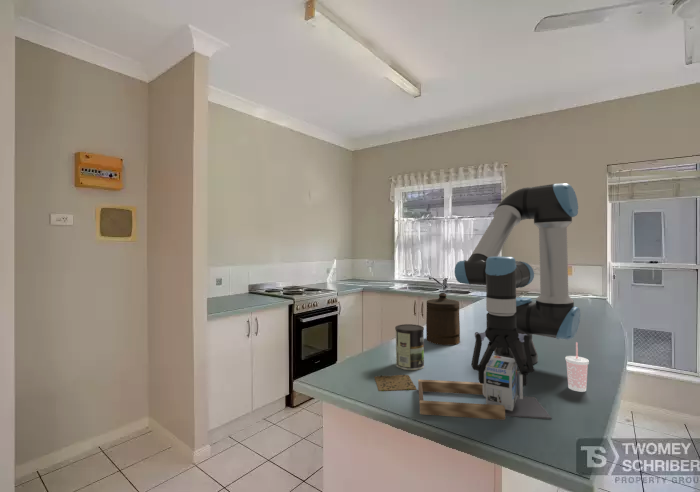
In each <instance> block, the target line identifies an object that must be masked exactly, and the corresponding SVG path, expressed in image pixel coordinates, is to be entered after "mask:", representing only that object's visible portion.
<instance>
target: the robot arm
mask: <svg viewBox="0 0 700 492" xmlns="http://www.w3.org/2000/svg"><path fill="white" fill-rule="evenodd" d="M578 213H579V203H578V198H577V195H576V192H575V189H574V188H573V186H572V185H570V184H569V183H566V182H565V183H552V184H544V185H539V186H531V187H523V188H519V189H517V190H514V191H513V192H511V193H510V194H509V195H507V196H506V197H505V198H503V199H502V200H501V201H500V202H499V204H498V205H497V206H496V208H495V210H494V212H493V218H492V220H491V222H490V223H489V225H488V226H487V228H486V230H485V231H484V233H483V235H482V237H481V238H480V240H479V241H478V242H477V245H476V247H475V248H474V250H473V251H472V252H471V255H470V256H469V257H468V259H467V260H466V259H463V260H459V261H458V262H456V264H455V266H454V277H455V280H456V281H457V282H458V283H460V284H465V285H470V286H472V285H475V286H485V288H486V289H485V290H486V294H485V296H486V297H485V299H486V300H485V301H486V303H485V305H486V308H485V309H486V311H487V313H486V317H485V318H486V319H485V320H486V329H485V330H484V331H483V332H478V331H476V332H475V333H474V337H475V343H474V348H473V353H472V358H471V362H470V363H471V367H472V369H473V370H474V371H478V377H477V378H478V382H479V383H480V384H482V388H483V397H484V398H486V365H487V363H488V362H489V360H490V359H491V357H492V356H493V355H496V356H502V357H508V358H514V359H515V361H516V363H517V368H518V369H519V370H517V396H518V397H519V398H520V399H523V396H524V393H523V392H524V387H526V386H527V376H528V374H529V373H534V372H535V368H534V365H535V364H537V363H538V362H539V360H538V359H539V358H538V357H539V355H538V352H537V349H536V347H535V343H534V340H533V336H534V335H535V336H542V337H546V338H547V337H548V338H552V339H556V340H567V341H569V340H572V339H574V338H575V337H576V335H577V332H578V330H579V327H580V322H581V309H580V308H579V307H578V306H575V302H574V300H573V299H572V298H571V296H570V295H569V270H568V269H569V268H568V266H569V264H568V263H569V262H568V227H569V226H570V225H571V224H572V222H573V218H575V217H576V216H578ZM523 220H524V221H525V220H533V225H535V226H536V227H537V229H538V242H539V243H538V247H539V250H538V251H539V281H540V282H539V285H540V287H539V291H540V294H539V296H537V297H536V298H535V302H533V298H531V297H523V296H521V297H517V289H519V288H520V289H521V288H525V287H526V286H528V285H530V284H531V283H532V282H533V281H534V278H535V271H534V269H533V267H532V266H531V265H530V264H529V263H528V262H525V261H521V260H520V261H516V258H515V257H513V256H501V255H500V253H501V251H502V249H503V247H504V246H505V244H506V242H507V241H508V238H509V237H510V236H511V233H512V231H513V229H514V228H515V227H516V226H518V225H519V224H520V223H521V222H522V221H523ZM499 255H500V256H499ZM485 338H487V340H488V341H489V342H488V343H487V347H486V349H485V351H484V353H483V355H482V358H481V360H480V356H481V355H480V354H481V351H482V345H483V341H484V340H485ZM479 361H480V362H479ZM523 386H524V387H523Z"/></svg>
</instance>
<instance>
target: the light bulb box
mask: <svg viewBox="0 0 700 492" xmlns="http://www.w3.org/2000/svg"><path fill="white" fill-rule="evenodd" d="M485 370H486V397H485V404H490V405H504V407H505V409H506V410H510V411H513V408H514V405H515V402H516V400H517V371H518V365H517V363H516V361H515V359H514V358H508V357H502V356H496V355H494V354H492V356H491V358H490V360H489V362H488V363H487V365H486V368H485Z"/></svg>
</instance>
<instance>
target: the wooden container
mask: <svg viewBox="0 0 700 492" xmlns="http://www.w3.org/2000/svg"><path fill="white" fill-rule="evenodd" d="M438 296H439V297H438V298H433V299H432V298H431V299H427V300H426V317H425V318H426V323H425V324H426V325H425V326H426V328H425V330H426V334H425V335H426V341H427V342H428V343H430V344H433V345H438V346H455V345H459V343H461V327H460V326H461V324H460V323H461V322H460V301H458V300H455V299H448V298H447V297H448V296H447V293H445V292H440V293H439V294H438Z"/></svg>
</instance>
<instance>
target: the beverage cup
mask: <svg viewBox="0 0 700 492" xmlns="http://www.w3.org/2000/svg"><path fill="white" fill-rule="evenodd" d="M578 343H579V342H577V341H575V355H566V356H565V361H566V372H567V373H566V375H567V387H568V389H569V390H571V391H575V392H581V393H584V392H586V391H587V385H588V384H587V383H588V369H589V368H588V367H589V364H590V361H589V359H588V358H586V357H582V356H579V348H578V345H579V344H578Z"/></svg>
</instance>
